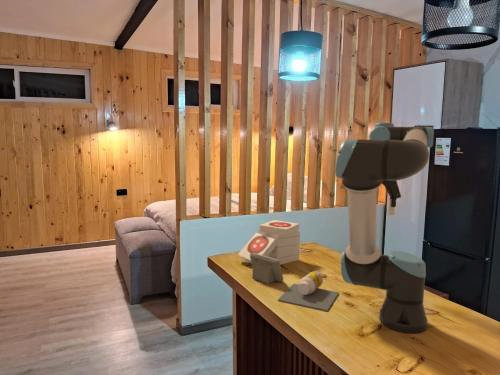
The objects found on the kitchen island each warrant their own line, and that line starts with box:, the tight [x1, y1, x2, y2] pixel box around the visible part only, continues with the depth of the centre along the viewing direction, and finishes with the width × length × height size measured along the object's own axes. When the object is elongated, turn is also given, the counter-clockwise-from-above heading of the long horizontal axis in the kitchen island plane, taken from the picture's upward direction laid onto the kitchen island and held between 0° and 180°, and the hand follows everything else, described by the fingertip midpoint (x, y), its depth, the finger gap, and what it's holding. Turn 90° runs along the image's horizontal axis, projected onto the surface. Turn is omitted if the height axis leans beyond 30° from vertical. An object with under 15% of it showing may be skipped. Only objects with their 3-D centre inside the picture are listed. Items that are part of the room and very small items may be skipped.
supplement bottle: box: [298, 270, 324, 295], centre depth 150 cm, size 7×7×13 cm
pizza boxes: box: [237, 219, 301, 265], centre depth 188 cm, size 19×30×18 cm, turn 127°
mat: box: [277, 283, 340, 312], centre depth 146 cm, size 18×19×1 cm
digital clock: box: [250, 253, 284, 285], centre depth 164 cm, size 16×9×11 cm, turn 37°
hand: (378, 212), depth 157 cm, fingers open, 13 cm apart
